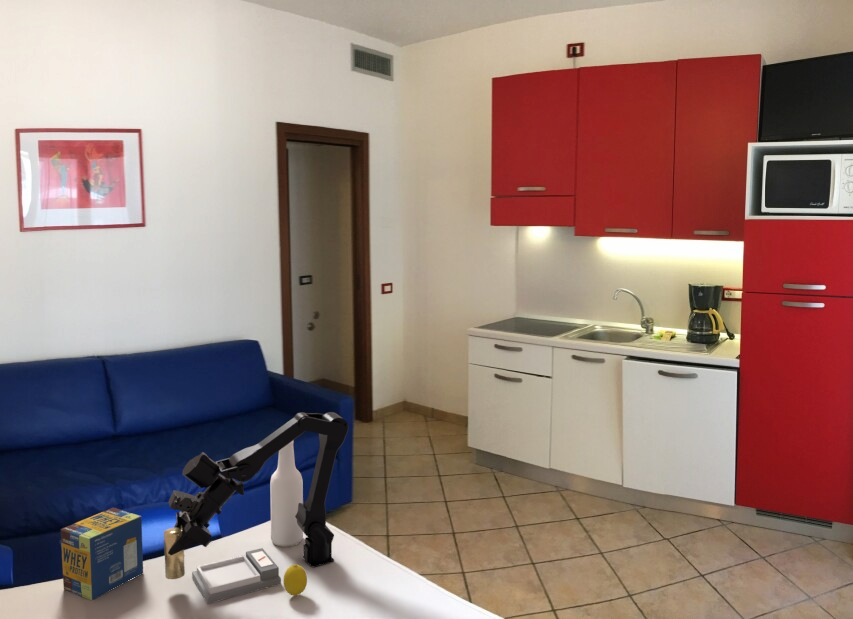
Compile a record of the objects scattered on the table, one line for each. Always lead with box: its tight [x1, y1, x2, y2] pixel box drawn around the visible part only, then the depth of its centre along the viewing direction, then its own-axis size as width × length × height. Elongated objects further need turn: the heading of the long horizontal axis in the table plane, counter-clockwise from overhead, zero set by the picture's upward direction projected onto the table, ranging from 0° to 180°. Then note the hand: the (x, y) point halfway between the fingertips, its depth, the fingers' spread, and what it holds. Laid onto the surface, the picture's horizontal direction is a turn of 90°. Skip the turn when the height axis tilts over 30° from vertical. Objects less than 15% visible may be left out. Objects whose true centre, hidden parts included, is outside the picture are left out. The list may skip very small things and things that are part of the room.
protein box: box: [60, 507, 144, 601], centre depth 177 cm, size 10×15×16 cm
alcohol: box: [269, 440, 304, 548], centre depth 200 cm, size 9×9×30 cm
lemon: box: [283, 563, 308, 597], centre depth 172 cm, size 6×6×8 cm
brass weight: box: [163, 527, 186, 580], centre depth 173 cm, size 4×4×11 cm
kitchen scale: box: [191, 547, 282, 604], centre depth 179 cm, size 14×18×4 cm
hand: (168, 549), depth 172 cm, fingers closed on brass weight, 4 cm apart
